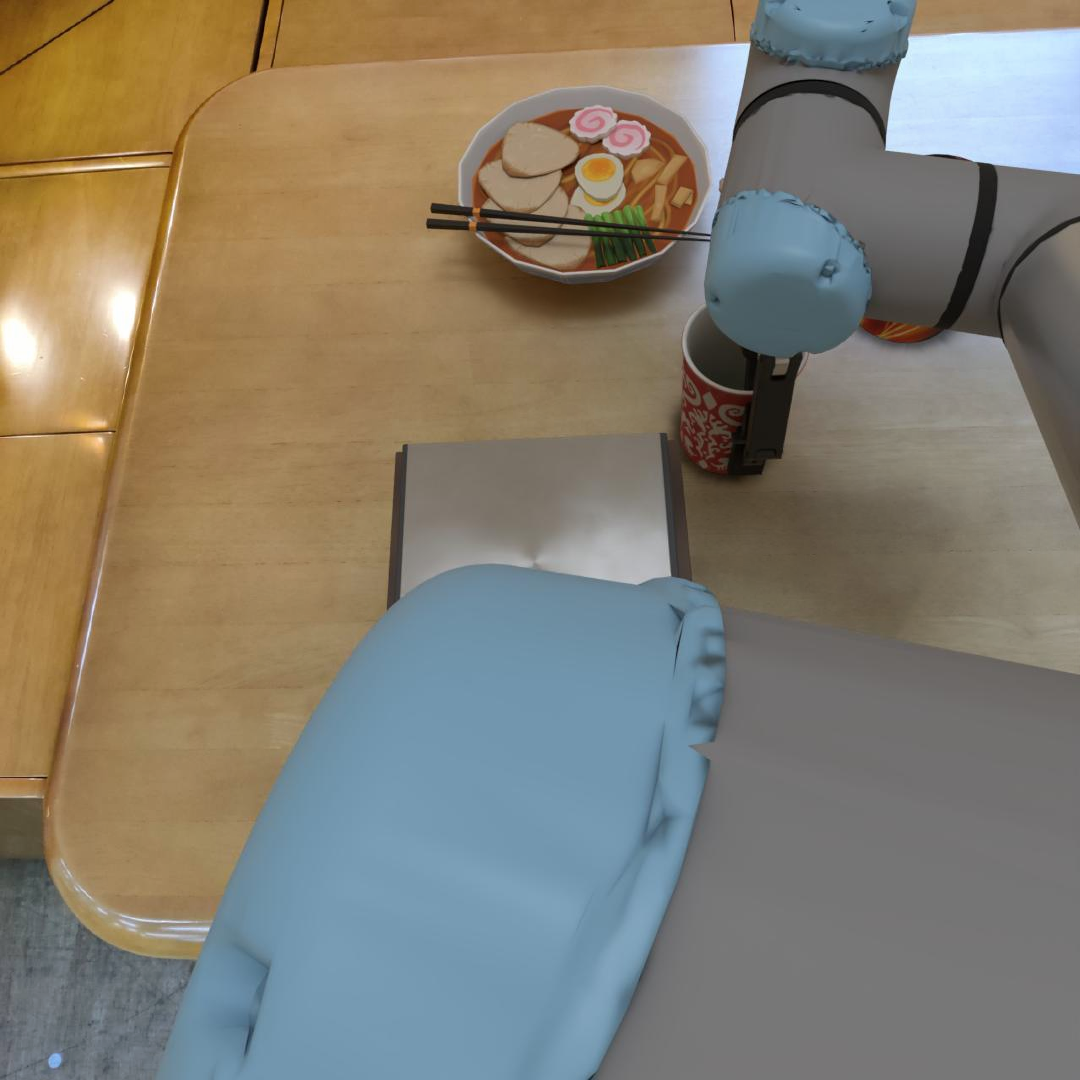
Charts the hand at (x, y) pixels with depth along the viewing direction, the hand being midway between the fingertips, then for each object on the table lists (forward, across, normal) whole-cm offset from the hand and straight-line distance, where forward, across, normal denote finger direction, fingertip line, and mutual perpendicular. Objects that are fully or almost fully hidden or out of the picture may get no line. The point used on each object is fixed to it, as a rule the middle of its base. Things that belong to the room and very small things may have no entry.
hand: (736, 413), depth 78 cm
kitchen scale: (-16, +23, -16) cm, 32 cm away
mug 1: (+2, 0, 0) cm, 2 cm away
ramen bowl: (+2, -22, -12) cm, 25 cm away
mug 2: (+2, -12, +14) cm, 19 cm away
